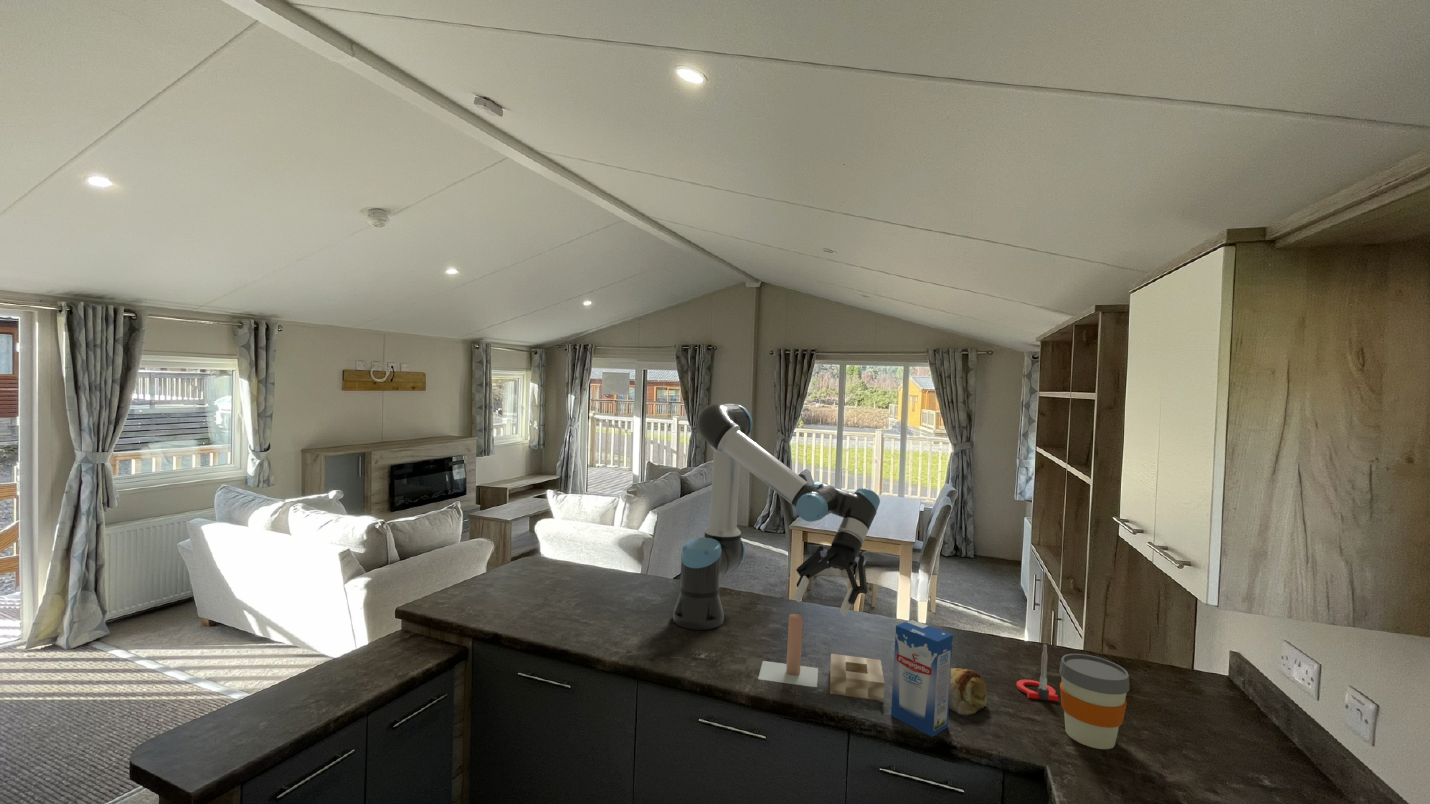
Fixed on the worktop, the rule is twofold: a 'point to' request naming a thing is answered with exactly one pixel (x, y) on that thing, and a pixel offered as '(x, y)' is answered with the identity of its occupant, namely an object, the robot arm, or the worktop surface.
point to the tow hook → (1039, 683)
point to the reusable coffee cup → (1093, 699)
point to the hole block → (856, 677)
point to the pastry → (966, 692)
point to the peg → (794, 644)
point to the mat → (779, 674)
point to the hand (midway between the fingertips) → (818, 606)
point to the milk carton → (922, 676)
